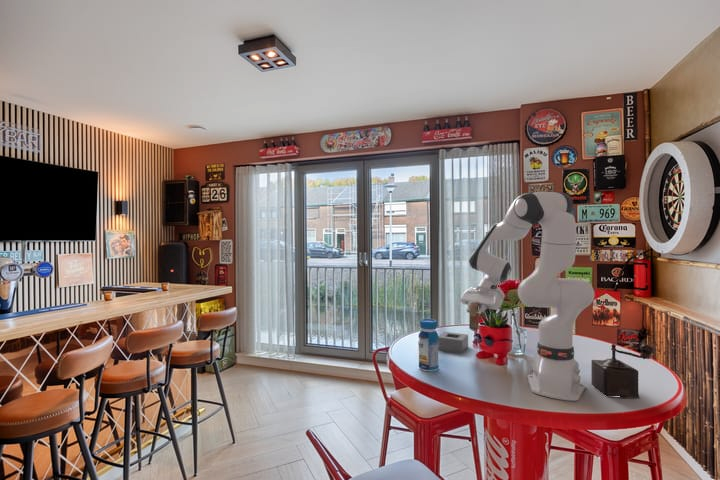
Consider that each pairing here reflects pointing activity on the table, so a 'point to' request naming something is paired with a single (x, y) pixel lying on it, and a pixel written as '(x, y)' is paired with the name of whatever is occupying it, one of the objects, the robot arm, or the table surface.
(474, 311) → the walnut peg
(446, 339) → the charcoal socket
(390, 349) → the table surface
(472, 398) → the table surface
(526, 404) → the table surface
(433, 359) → the beverage bottle
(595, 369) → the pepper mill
